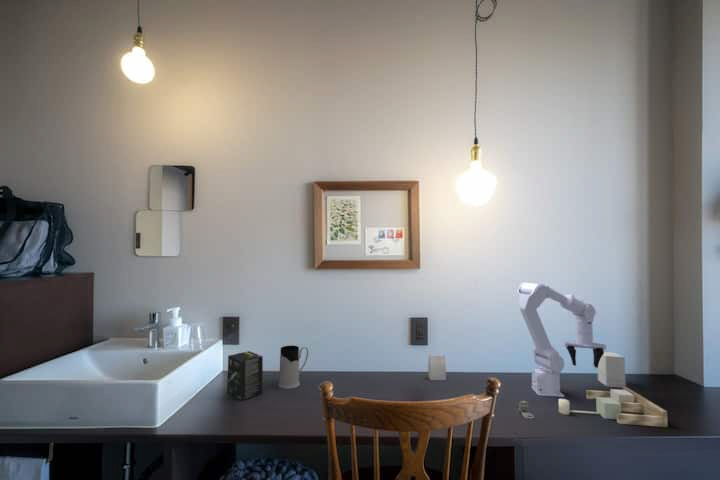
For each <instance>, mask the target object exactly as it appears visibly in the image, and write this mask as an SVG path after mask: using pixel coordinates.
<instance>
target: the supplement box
mask: <svg viewBox="0 0 720 480" xmlns="http://www.w3.org/2000/svg"><path fill="white" fill-rule="evenodd" d="M625 363H626V361H625V356H624V355H620V354H619V353H617V352H612V351H604V354H603V355H602V357H601V359H600V361H599V364H598V368H597V381H598V382H599V383H601V384H603V386H605V387H608V388H621V389H623V387H627V384H626V364H625Z"/></svg>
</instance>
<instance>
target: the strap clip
mask: <svg viewBox="0 0 720 480" xmlns="http://www.w3.org/2000/svg"><path fill="white" fill-rule="evenodd" d="M524 404H525V405H524ZM513 408H514V410H516V412H518V413H520V414H521V416H522V417H524V418H525V419H526V420H535V416H534V415H533V414H532V413H531V412H529V402H528V401H526V400H521V401H519V406H514V407H513Z"/></svg>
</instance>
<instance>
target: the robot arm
mask: <svg viewBox="0 0 720 480" xmlns="http://www.w3.org/2000/svg"><path fill="white" fill-rule="evenodd" d="M516 292H517V294H518V298H519V310H520V313H521V315H522V317H523V320H524V322H525V324H526V326H527V329H528V331H529V334H530V336H531V339H532V342H533V344H534V346H535V347H534V349H533V350H532V351H533V352H532V353H533V358H534V362H535V363H536V364H537V367H538V368H533V369H532V370H531V387H530V388H531V389H532V390H533V391H534V392H535V393H536V394H537V395H538V396H543V397H546V396H547V397H560V398H565V394H564V393H562V392H561V379H560V378H561V377H560V376H561V375H560V373H561V372H562V371H563V369H564V368H565V359H564V358H563V357H562V356H561V355H560V354H559V352H558V350H557V349H556V348H554V347H553V346H552V344H551V342H550V339H549V337H548V335H547V332H546V330H545V327H544V324H543V322H542V320H541V318H540V316H539V313H538V309H539V307H540V306H542V304H543V303H544V301H545V300H546V299H551V301H552V300H553V301H555V302H557V303H559V305H560V306H561V308H563V309H565V310H567V311H569V312H571V313H572V314H573V315H574V316H575V340H574V341H572V340H571V341H570V340H569V341H567V340H566V341H565V340H564V341H563V347H565V348H566V349H567V351H568V353H569V357H570V358H571V364H572V365H573V366H575V367H576V366H577V361H576V360H577V359H576V358H577V350H576V348H579V349H580V348H581V349H592V353H593V367H594V368H597V369H598V364H599V361H600V359H601V357H602V355H603V354H604V352H605V351H607V345H606V344H605V343H597V342H593V341H594V339H593V337H594V336H593V323H594V319H595V318H594V317H596V314H597V311H596V309H595V306H593V305H592V304H591V303H587V302H584V301H583V300H582V299H578V298H576V297H575V295H573V294H562V293H560V292H558V291H556V290H554V289H553V288H551V287H550V286H549V285H546V284H543V283H531V282H527V281H525V282H522V283H520V284H519V287H518V289H517V291H516Z"/></svg>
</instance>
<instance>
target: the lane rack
mask: <svg viewBox="0 0 720 480" xmlns="http://www.w3.org/2000/svg"><path fill="white" fill-rule="evenodd" d="M622 390H626V391H628V392H629V393H631V394H633V395H634V402H635V403H629V402H618V403H620V404H621V413H617V419H616V422H617V423H618V424H621V425H636V426H645V427H647V426H648V427H649V426H650V427H662V428H668V426H669V425H668V411H667V410H665V409H664V408H662V407H660V406H659V405H657V404H655V403H654V402H652V401H651V400H649V399H647V398H646V397H644V396H642V395H641V394H639V393H637V392H635V391H634V390H633V389H631V388H629V387H627V386H626V387H623V388H622ZM585 393H586V396H585V397H586V399H587V400H588V399H589V400H596V397H604V398H611V391H609V390H608V391H606V390H592V389H591V390H590V389H586V391H585ZM622 412H623V413H622ZM624 412H626V413H624ZM634 413H637V414H634Z"/></svg>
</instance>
